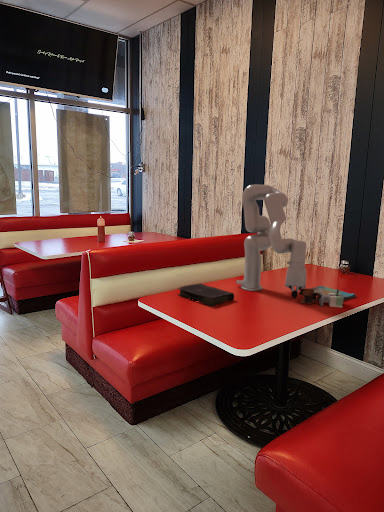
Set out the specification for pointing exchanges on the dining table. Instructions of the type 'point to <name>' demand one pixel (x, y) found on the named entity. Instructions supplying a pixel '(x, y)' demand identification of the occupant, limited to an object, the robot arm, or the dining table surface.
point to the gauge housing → (335, 300)
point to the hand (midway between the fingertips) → (294, 298)
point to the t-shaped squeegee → (325, 297)
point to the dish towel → (330, 290)
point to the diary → (205, 294)
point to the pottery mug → (309, 296)
